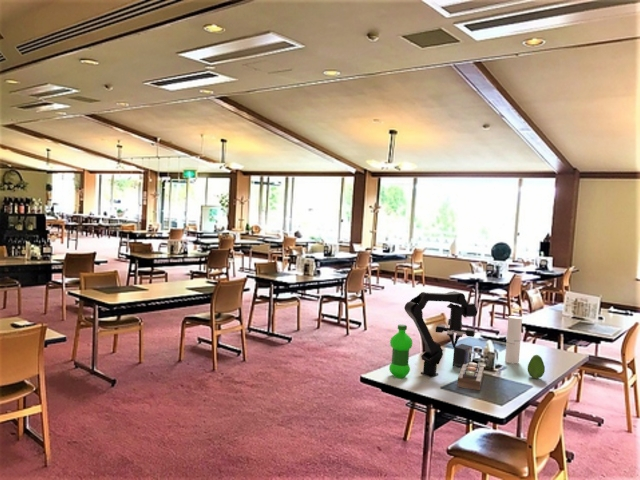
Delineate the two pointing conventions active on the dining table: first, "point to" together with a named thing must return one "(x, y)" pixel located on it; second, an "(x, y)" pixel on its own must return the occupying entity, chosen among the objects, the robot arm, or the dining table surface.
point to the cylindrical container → (513, 339)
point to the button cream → (473, 364)
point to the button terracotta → (471, 368)
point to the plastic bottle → (400, 353)
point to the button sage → (470, 373)
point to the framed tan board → (470, 377)
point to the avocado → (536, 367)
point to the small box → (462, 355)
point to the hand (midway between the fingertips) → (454, 347)
